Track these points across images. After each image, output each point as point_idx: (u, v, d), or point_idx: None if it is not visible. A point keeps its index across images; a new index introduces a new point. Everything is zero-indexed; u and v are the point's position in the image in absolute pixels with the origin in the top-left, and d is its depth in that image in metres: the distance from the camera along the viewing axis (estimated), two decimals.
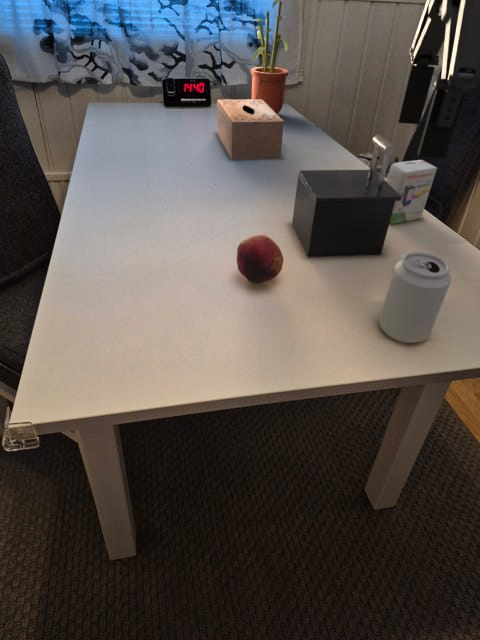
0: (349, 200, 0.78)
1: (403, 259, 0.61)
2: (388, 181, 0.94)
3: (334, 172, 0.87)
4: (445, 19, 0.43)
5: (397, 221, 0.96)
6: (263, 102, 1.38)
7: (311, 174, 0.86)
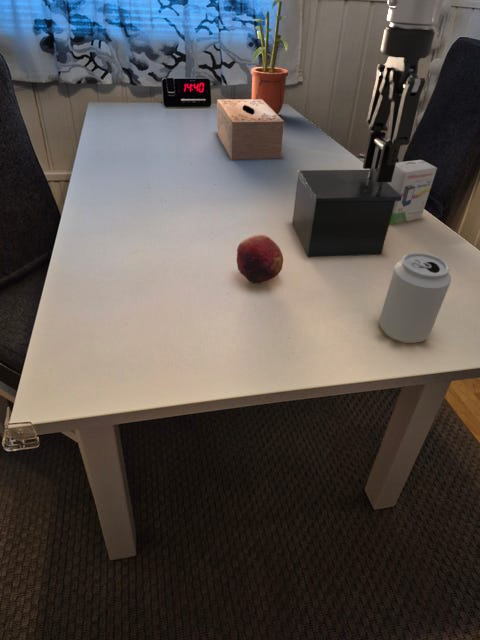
0: (349, 200, 0.78)
1: (403, 259, 0.61)
2: None
3: (334, 172, 0.87)
4: (391, 100, 0.72)
5: (397, 221, 0.96)
6: (263, 102, 1.38)
7: (311, 174, 0.86)
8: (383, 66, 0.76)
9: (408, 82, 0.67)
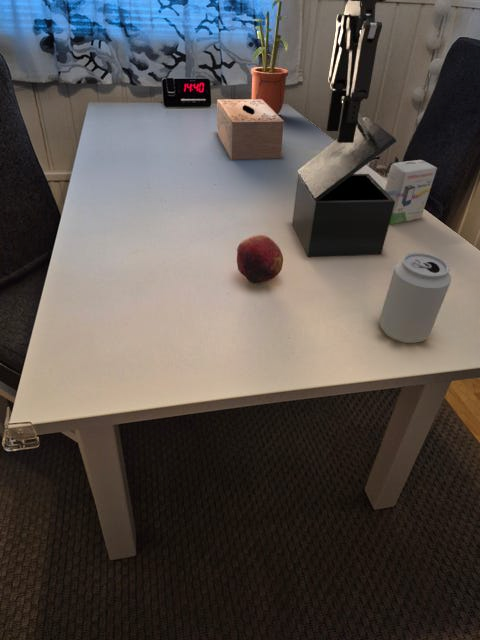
0: (346, 178, 0.75)
1: (403, 259, 0.61)
2: (388, 181, 0.94)
3: (328, 149, 0.84)
4: (348, 50, 0.67)
5: (397, 221, 0.96)
6: (263, 102, 1.38)
7: (308, 168, 0.85)
8: None
9: (363, 26, 0.62)
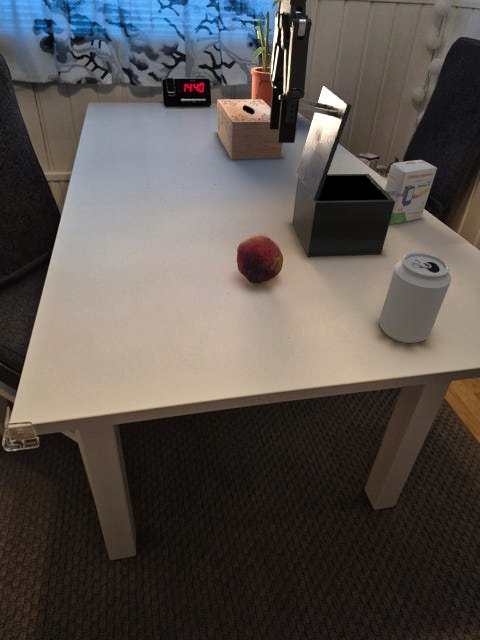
0: (328, 166, 0.73)
1: (403, 259, 0.61)
2: (388, 181, 0.94)
3: (309, 138, 0.82)
4: (283, 48, 0.66)
5: (397, 221, 0.96)
6: (263, 102, 1.38)
7: (302, 165, 0.84)
8: (280, 13, 0.70)
9: (293, 23, 0.61)
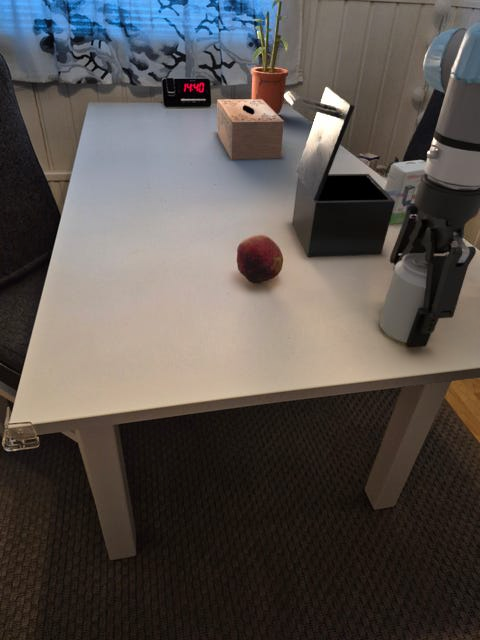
0: (329, 166, 0.73)
1: (403, 259, 0.61)
2: (388, 181, 0.94)
3: (310, 138, 0.82)
4: (428, 261, 0.57)
5: (397, 221, 0.96)
6: (263, 102, 1.38)
7: (302, 165, 0.84)
8: (415, 207, 0.61)
9: (453, 253, 0.52)
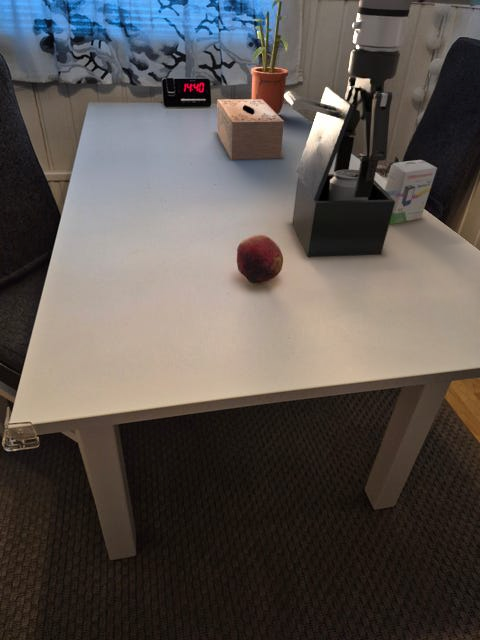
0: (329, 166, 0.73)
1: None
2: (388, 181, 0.94)
3: (310, 138, 0.82)
4: (362, 118, 0.73)
5: (397, 221, 0.96)
6: (263, 102, 1.38)
7: (302, 165, 0.84)
8: (354, 80, 0.77)
9: (375, 96, 0.68)
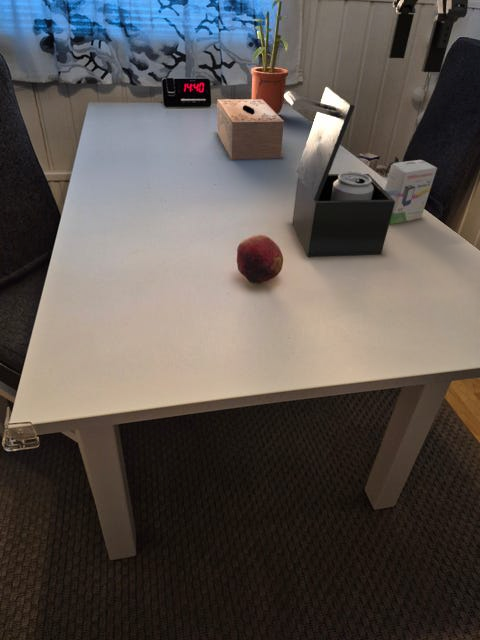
0: (329, 166, 0.73)
1: (339, 174, 0.83)
2: (388, 181, 0.94)
3: (310, 138, 0.82)
4: None
5: (397, 221, 0.96)
6: (263, 102, 1.38)
7: (302, 165, 0.84)
8: None
9: None
